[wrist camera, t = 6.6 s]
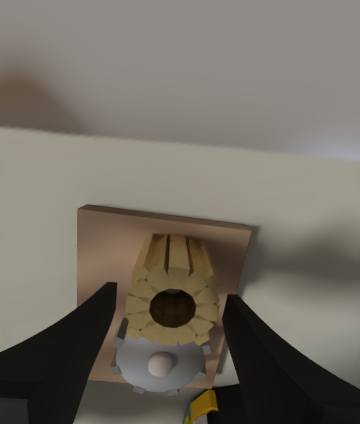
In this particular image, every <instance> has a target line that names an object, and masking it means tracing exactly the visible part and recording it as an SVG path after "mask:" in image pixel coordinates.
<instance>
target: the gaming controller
mask: <svg viewBox="0 0 360 424" xmlns="http://www.w3.org/2000/svg"><path fill="white" fill-rule="evenodd" d="M183 424H248V420H247V415H246V410H245V405H244V401H243V396H242V392H241V387H240V386H237V387H230V388H224V389H217V390H214V391H213V390H207V391H206V392H204V393H203V394H202V395H200V396H199V397H197V398H196V399H194V400H193V401H191V403H190V405H189V407H188V408H187V410H186V412H185V415H184V419H183Z"/></svg>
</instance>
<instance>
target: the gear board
mask: <svg viewBox="0 0 360 424" xmlns="http://www.w3.org/2000/svg"><path fill="white" fill-rule="evenodd" d="M151 234H154V235H155V236H156V238H159V237H161V236H164V235H166V234H167V235H168V238H169V240H170V234H176V235H184V236H185V239H187V238H188V237H189V238H190V239H192V240H193V241H195V242H196V243H197V242H199V241H200V240H201V239H202V240H203V242H204V243H205V244H206V246H207V247H208V249H209V252H210V254H211V257H212V259H213V262H214V265H215V267H216V270H217V272H218V275H219V277H220V280H221V283H222V285H221V286H220V287H218V288H217V289H216V291H217V294H218V297H219V300H220V301H219V303H220V308H219V312H218V316H217V321H213V322H214V326H213V327H212V328H211V329H210V330H209V331H208V333H209V338H210V339H209V340H208V341H206V342H204V343H203V344H201V345H199V346H198V345H197V344H196V343H195V342H194V341H192V342H189V343H187V344H184V345H180V343H179V341H178V339H177V345H176V346H170V345H159V344H158V339H157V340H156V341H155V342H154V343H152V342H151V341H149V340H147V339H145V338H144V337H140V338H139V339H137V340H136V341H135V340H134V339H133V338H132V337H131V336H130V335H129V334H128V333H127V332H126V330H127V327H128V323H129V321H128V319H127V317H126V315H127V313H125V309H126V297H127V293H128V291H129V288H130V285H131V282H132V279H133V276H132V275H131V274H132V271H133V269H134V266H135V263H136V261H137V258H138V255H139V253H140V250H141V247H142V245H143V242H144V240H145V239H146V238H147V237H149V236H150V235H151ZM250 235H251V230H250V229H249V228H248V227H247V226H246V225H242V224H234V223H226V222H218V221H210V220H202V219H195V218H187V217H179V216H171V215H163V214H155V213H148V212H140V211H132V210H124V209H116V208H108V207H100V206H93V205H84V206H82V207H80V208H78V209H77V307H79V306H80V305H81V304H82V303H84V302H85V301H86V300H87V299H88V298H90V297H91V296H92V295H93V294H94V293H95V292H96V291H98V290H99V289H100V288H101V287H102V286H103V285H104V284H105V283H107V282H117V298H116V310H115V313H114V317H113V320H112V323H111V326H110V328H109V331H108V333H107V335H106V337H105V340H104V342H103V344H102V347H101V349H100V351H99V353H98V356H97V358H96V360H95V362H94V365H93V367H92V370H91V372H90V375H89V378H88V380H94V381H108V382H122V383H130V384H132V385H133V390H132V391H133V392H136V393H138V394H141V395H142V394H143V393H144V392H145V390H146V391H150V392H167V394H168V396H174V395H178V394H179V389H180V388H183V387H194V388H208V389H212V386H213V382H214V378H215V374H216V370H217V366H218V362H219V358H220V354H221V350H222V346H223V342H224V338H225V334H224V329H223V323H222V316H223V312H224V308H225V304H226V299H227V295H228V294H236V291H237V287H238V283H239V279H240V275H241V271H242V267H243V263H244V259H245V255H246V251H247V247H248V243H249V239H250ZM165 291H166V292H168V293H178V292H179V291H181V290H180V289H170V288H169V289H167V290H165Z"/></svg>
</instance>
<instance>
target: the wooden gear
mask: <svg viewBox="0 0 360 424" xmlns="http://www.w3.org/2000/svg"><path fill="white" fill-rule="evenodd" d="M131 275H132V276H133V279H132V282H131V285H130V288H129V291H128V293H127V297H126V309H125V313H127V315H126V317H127V319H128V321H129V323H128V327H127V330H126V332H127V333H128V334H129V335H130V336H131V337H132V338H133V339H134V340H135V341H136V340H137V339H139V338H140V337H144V338H145V339H147V340H149V341H151V342H152V343H154V342H155V341H156V340H157V339H158V344H159V345H170V346H176V345H177V339H178V341H179V343H180V345H184V344H187V343H189V342H192V341H194V342H195V343H196V344H197V345H198V346H199V345H201V344H203V343H204V342H206V341H208V340H209V339H210V338H209V333H208V331H209V330H210V329H211V328H212V327H213V326H214V322H213V321H217V316H218V312H219V308H220V303H219V301H220V300H219V297H218V294H217V291H216V289H217V288H218V287H220V286H221V285H222V283H221V280H220V277H219V275H218V272H217V270H216V267H215V265H214V262H213V259H212V257H211V254H210V252H209V249H208V247H207V246H206V244H205V243H204V242H203V240H202V239H201V240H200V241H199V242H197V243H196V242H195V241H193V240H192V239H190V238H189V237H188V238H187V239H185V236H184V235H176V234H170V240H169V238H168V235H167V234H166V235H164V236H161V237H159V238H156V236H155V235H154V234H151V235H150V236H149V237H147V238H146V239H145V240H144V242H143V245H142V247H141V250H140V253H139V255H138V258H137V261H136V263H135V266H134V269H133V271H132V274H131ZM169 288H170V289H180V290H181V291H179V292H178V293H168V292H166V291H165V290H167V289H169Z"/></svg>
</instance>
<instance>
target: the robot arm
mask: <svg viewBox="0 0 360 424" xmlns="http://www.w3.org/2000/svg"><path fill="white" fill-rule="evenodd" d="M116 298H117V282H107V283H105V284H104V285H103V286H102V287H101V288H100V289H99V290H98V291H96V292H95V293H94V294H93V295H92V296H91V297H90V298H88V299H87V300H86V301H85V302H84V303H82V304H81V305H80V306H79V307H77V308H76V309H75V310H73V311H72V312H71V313H69V314H68V315H67V316H65V317H64V318H62V319H61V320H59V321H58V322H56V323H55V324H53V325H51V326H50V327H48V328H46V329H45V330H43V331H41V332H39V333H38V334H36V335H34V336H32V337H30V338H29V339H27V340H25V341H23V342H21V343H19V344H17V345H15V346H13V347H10V348H8V349H6V350H4V351H2V352H0V424H73V422H74V419H75V416H76V413H77V410H78V407H79V404H80V401H81V398H82V395H83V392H84V389H85V386H86V383H87V381H88V378H89V375H90V372H91V370H92V367H93V365H94V362H95V360H96V358H97V356H98V353H99V351H100V349H101V347H102V344H103V342H104V340H105V337H106V335H107V333H108V331H109V328H110V326H111V323H112V320H113V317H114V313H115V310H116ZM222 323H223V329H224V334H225V338H226V341H227V344H228V347H229V351H230V354H231V357H232V360H233V363H234V366H235V370H236V373H237V376H238V380H239V383H240V387H241V392H242V396H243V401H244V405H245V410H246V415H247V420H248V424H360V389H358V388H357V387H355V386H353V385H351V384H349V383H348V382H346V381H344V380H342V379H341V378H339V377H337V376H335V375H334V374H332V373H330V372H329V371H327V370H326V369H324V368H322V367H321V366H319V365H318V364H316V363H315V362H313V361H312V360H310V359H309V358H308V357H306V356H305V355H303V354H302V353H301V352H299V351H298V350H296V349H295V348H294V347H292V346H291V345H290V344H289V343H287V342H286V341H285V340H284V339H282V338H281V337H280V336H279V335H278V334H277V333H275V332H274V331H273V330H272V329H271V328H270V327H269V326H268V325H267V324H266V323H265V322H264V321H262V320H261V319H260V318H259V317H258V316H257V315H256V314H255V313H254V312H253V311H252V309H251V308H250V307H249V306H248V305H247V304H246V303H245V302H244V301H243V300H242V299H241V298H240V297H239V296H238V295H236V294H228V295H227V299H226V304H225V308H224V312H223V316H222Z"/></svg>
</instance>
